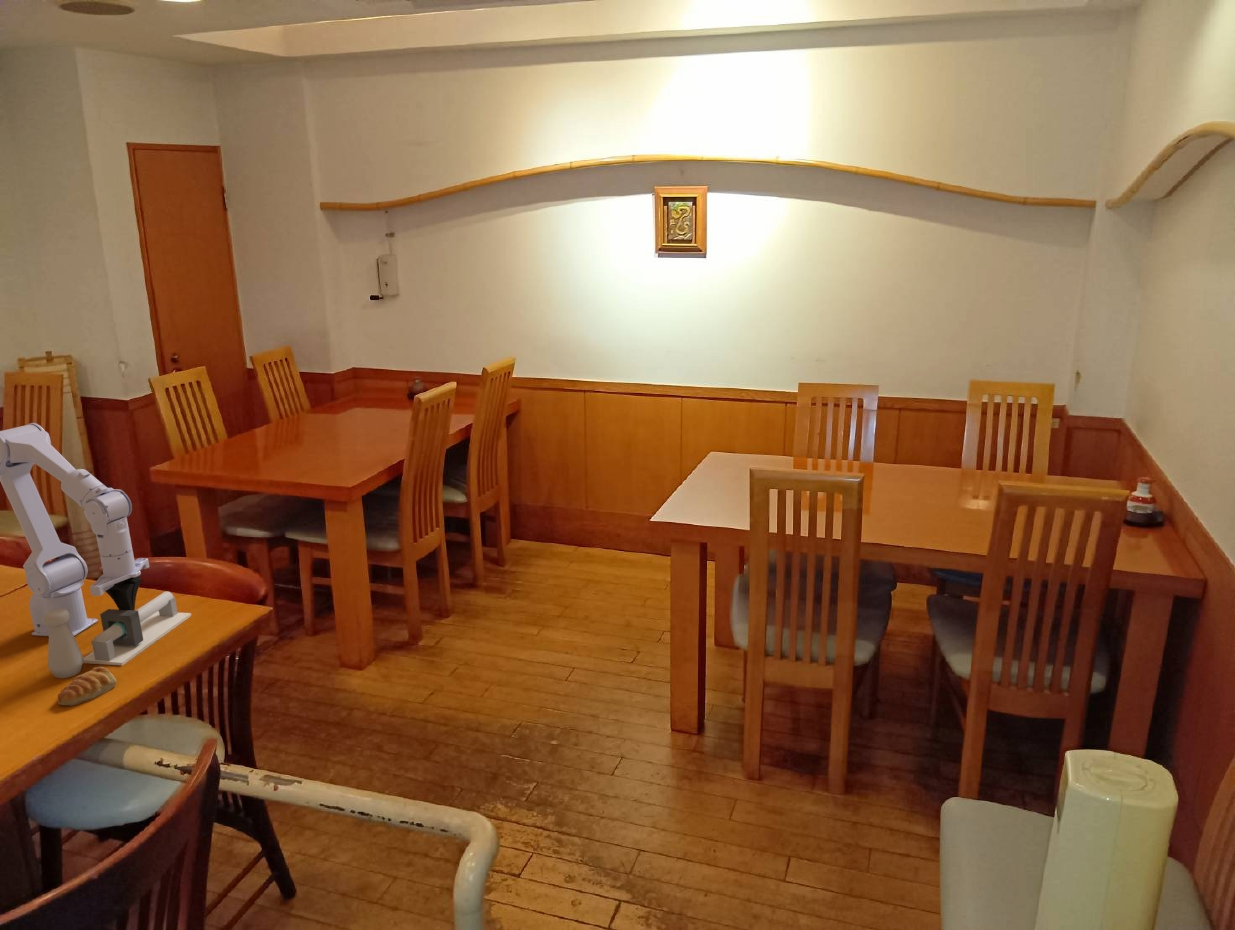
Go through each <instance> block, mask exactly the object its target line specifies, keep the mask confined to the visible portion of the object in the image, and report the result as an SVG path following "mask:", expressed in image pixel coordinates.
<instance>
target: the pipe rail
mask: <svg viewBox="0 0 1235 930" xmlns="http://www.w3.org/2000/svg"><path fill="white" fill-rule="evenodd" d="M135 611H138V613H139V619H140V624H141V630H142V635H143V641H142V642H140V643H139V644H137V645H136V646H131V645H115V644H113V641H114V640H116V639H117V638H118V637H121V636H123V635H124V634H126V633H127V631H126V626H125V622H116V623H115V624H113V625H112V626H111V627H110V628H108V629H107V630H105V631H104V632H103V631H102V632H101V633H98V635H96V636H94V638H93V641H91V645H92V651H91V652H90V653H89V654H87V655H86V656H83V658H84V661H83V664H94V665H95V664H96V665H97V664H98V665H109V666H110V665H111V666H124V665H126V664H127V663H128V662H130V661H131V660H133V659H134V658H135V657H137V656H138V655H139V654H141V653H142V652H144V651H145V650H146V649H147V648H149V647H150V646H152V645H153V644H155V643H156V642H157V641H158V640H160V639H161V638H162V637H164V636H166V635H167V634H168V633H169V632H171V631H173V630H174V629H175V628H177V627H178V626H180V625H181V624H182V623H184V622H185V621H186V620H187V619H190V618H191V616H192V613H191V612H178V607H177V600H176V597H175V596H174V595H173V593H172V592H170V591H164V592H162V593H161V594H159V595H158V596H156V597H155V598H152V599H151V600H150V601H148V602H146V603H145V604H144V605H142V606H140V607H139V608H137V609H136V610H135Z"/></svg>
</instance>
